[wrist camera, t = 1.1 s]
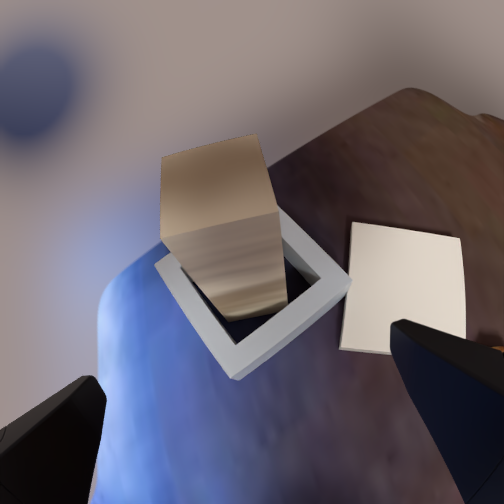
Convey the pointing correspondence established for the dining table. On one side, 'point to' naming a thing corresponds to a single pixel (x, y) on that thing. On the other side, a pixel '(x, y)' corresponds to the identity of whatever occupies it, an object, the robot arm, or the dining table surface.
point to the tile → (401, 285)
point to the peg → (225, 226)
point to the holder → (278, 327)
